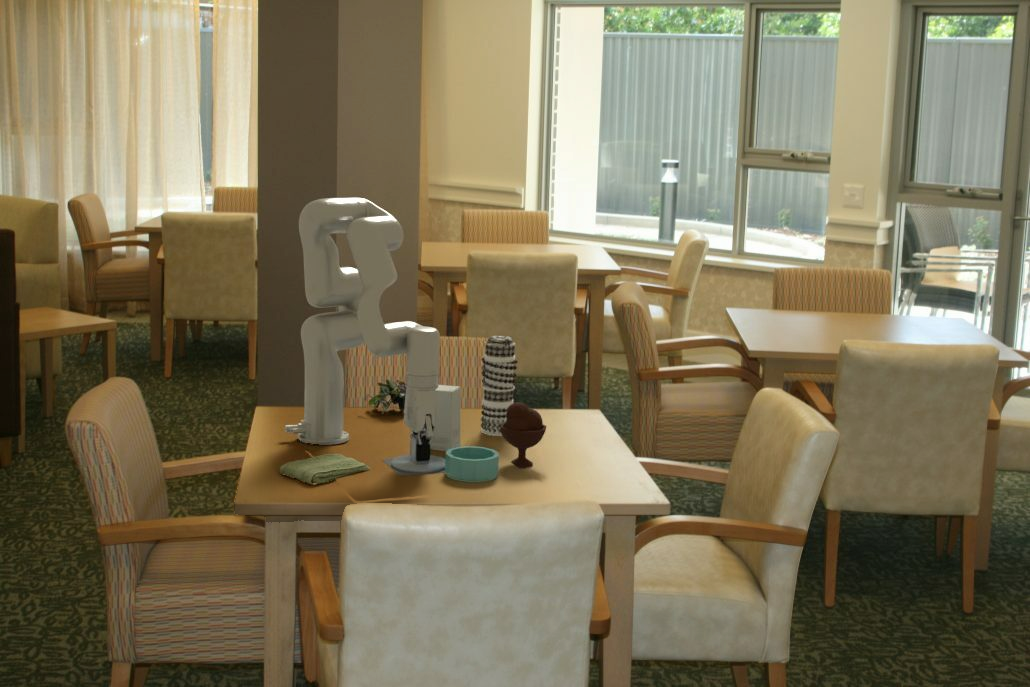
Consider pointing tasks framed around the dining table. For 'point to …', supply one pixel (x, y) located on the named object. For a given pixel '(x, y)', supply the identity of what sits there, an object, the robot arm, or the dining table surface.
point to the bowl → (471, 464)
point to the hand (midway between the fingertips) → (420, 457)
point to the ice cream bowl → (522, 431)
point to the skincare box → (447, 418)
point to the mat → (402, 473)
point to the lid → (414, 466)
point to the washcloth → (322, 468)
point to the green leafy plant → (389, 389)
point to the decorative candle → (497, 382)
